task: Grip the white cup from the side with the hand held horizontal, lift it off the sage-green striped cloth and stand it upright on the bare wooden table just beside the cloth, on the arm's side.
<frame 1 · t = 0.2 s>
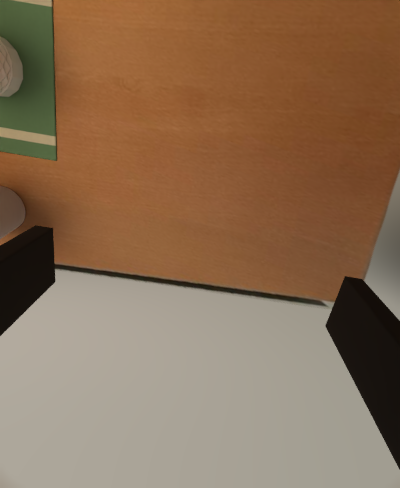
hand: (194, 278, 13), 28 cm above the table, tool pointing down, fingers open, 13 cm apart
coffee cup: (4, 207, 43), on the table
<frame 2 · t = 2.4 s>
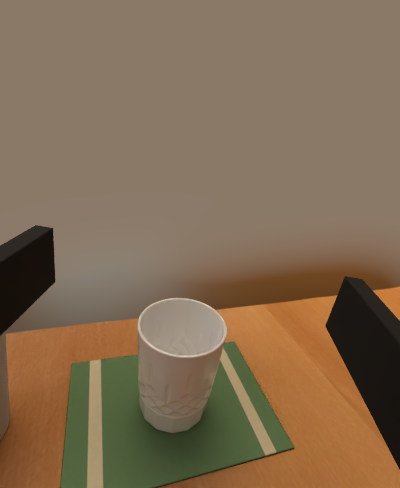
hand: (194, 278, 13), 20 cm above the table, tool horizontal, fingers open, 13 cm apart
white cup: (172, 402, 30), resting on cloth
cloth: (172, 402, 30), on the table
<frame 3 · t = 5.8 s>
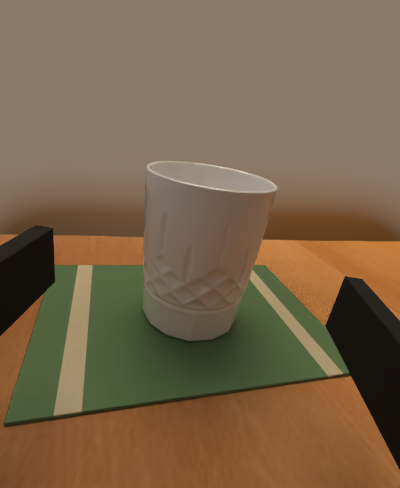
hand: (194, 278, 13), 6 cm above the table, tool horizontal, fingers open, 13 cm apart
white cup: (189, 312, 22), resting on cloth
cloth: (189, 312, 22), on the table
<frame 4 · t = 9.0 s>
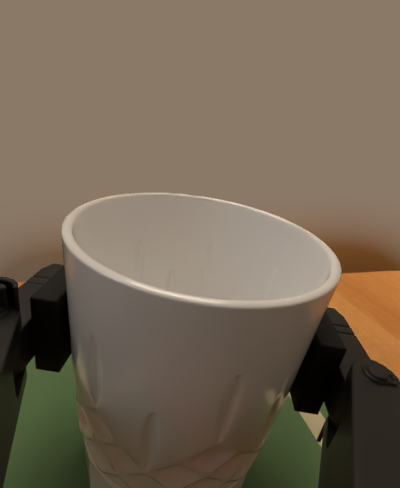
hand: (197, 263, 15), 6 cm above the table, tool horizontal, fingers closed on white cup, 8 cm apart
white cup: (167, 445, 13), resting on cloth, touching gripper
cloth: (167, 444, 13), on the table
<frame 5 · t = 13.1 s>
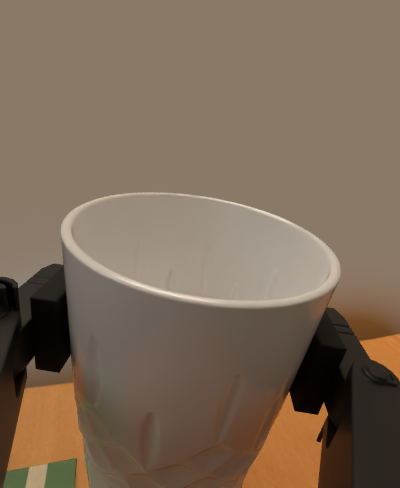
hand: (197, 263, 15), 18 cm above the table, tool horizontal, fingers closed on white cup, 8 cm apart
white cup: (167, 445, 13), point 11 cm above the table, touching gripper
when the fingers open (6 cm above the table, at t = 17.3 s): white cup stays where it is, on the table.
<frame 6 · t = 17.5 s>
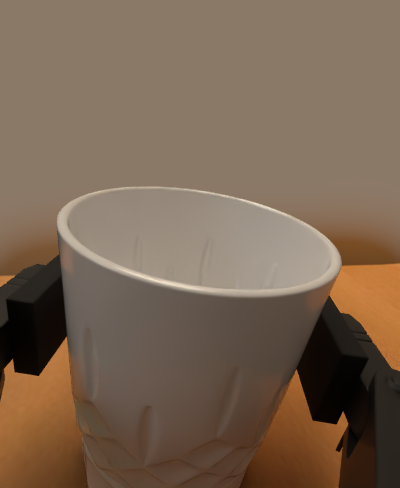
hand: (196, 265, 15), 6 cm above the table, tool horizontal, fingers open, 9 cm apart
white cup: (166, 441, 13), on the table
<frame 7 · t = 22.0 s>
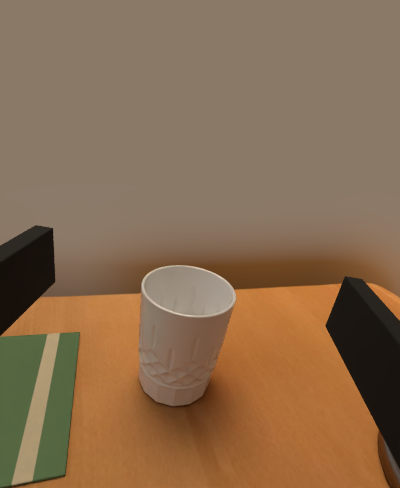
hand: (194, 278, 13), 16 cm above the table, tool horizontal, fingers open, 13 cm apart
white cup: (173, 377, 29), on the table
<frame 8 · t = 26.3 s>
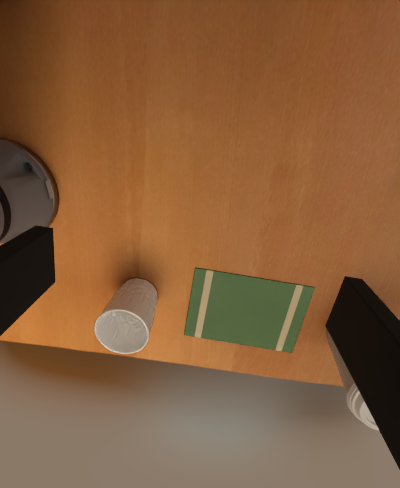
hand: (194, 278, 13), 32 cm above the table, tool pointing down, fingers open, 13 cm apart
white cup: (139, 294, 52), on the table
cloth: (246, 312, 52), on the table
coffee cup: (345, 332, 52), on the table
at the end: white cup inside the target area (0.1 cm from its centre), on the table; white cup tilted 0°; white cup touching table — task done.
